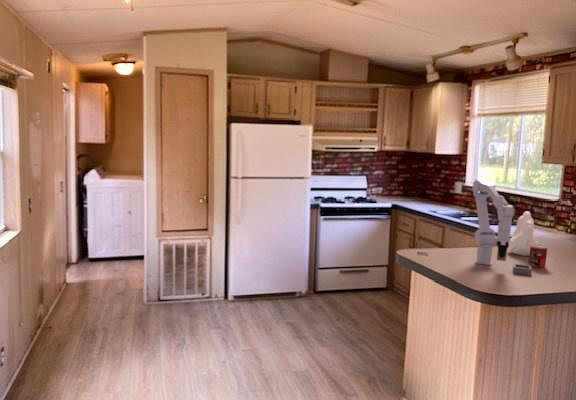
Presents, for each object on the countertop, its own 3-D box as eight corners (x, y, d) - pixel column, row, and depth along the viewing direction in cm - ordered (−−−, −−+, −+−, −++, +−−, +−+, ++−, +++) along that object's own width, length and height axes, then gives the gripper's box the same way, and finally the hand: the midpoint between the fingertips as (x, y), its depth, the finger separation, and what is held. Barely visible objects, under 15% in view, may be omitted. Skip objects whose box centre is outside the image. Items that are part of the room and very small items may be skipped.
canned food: (525, 265, 270) (527, 244, 269) (536, 264, 274) (538, 244, 272) (537, 269, 263) (539, 248, 262) (548, 268, 267) (550, 247, 265)
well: (512, 269, 260) (513, 263, 260) (529, 271, 257) (530, 265, 257) (513, 273, 253) (513, 267, 252) (530, 275, 250) (531, 269, 249)
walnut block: (496, 258, 257) (498, 246, 257) (505, 259, 256) (506, 247, 255) (496, 259, 254) (498, 248, 253) (505, 261, 252) (506, 249, 251)
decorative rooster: (508, 249, 308) (512, 208, 304) (537, 253, 300) (542, 211, 297) (504, 257, 286) (509, 213, 282) (535, 262, 278) (540, 216, 275)
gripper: (495, 226, 261) (492, 252, 263) (495, 231, 248) (492, 258, 249) (510, 227, 258) (507, 254, 260) (511, 232, 245) (508, 260, 247)
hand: (501, 256), depth 255 cm, fingers closed on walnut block, 4 cm apart
